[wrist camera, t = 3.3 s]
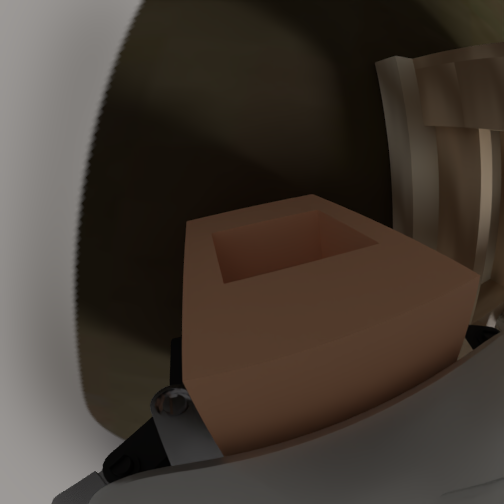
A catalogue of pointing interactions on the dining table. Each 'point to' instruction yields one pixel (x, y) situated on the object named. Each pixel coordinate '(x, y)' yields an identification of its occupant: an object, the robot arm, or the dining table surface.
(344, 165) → the dining table surface
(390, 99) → the stand
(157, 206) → the dining table surface
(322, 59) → the dining table surface
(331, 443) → the robot arm
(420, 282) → the rectangular block
